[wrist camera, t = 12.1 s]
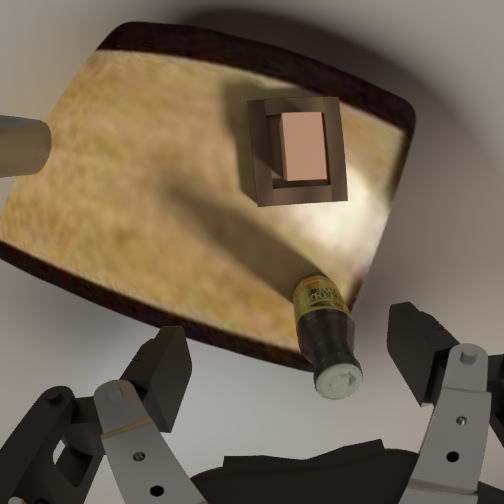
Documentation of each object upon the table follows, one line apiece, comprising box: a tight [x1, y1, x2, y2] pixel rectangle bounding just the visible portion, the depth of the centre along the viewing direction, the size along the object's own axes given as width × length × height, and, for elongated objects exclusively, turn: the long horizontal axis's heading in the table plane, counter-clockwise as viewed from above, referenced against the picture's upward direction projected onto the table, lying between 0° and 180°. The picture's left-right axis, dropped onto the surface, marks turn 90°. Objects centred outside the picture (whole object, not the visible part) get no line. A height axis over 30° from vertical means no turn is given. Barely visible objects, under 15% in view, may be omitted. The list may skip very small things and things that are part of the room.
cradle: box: [248, 97, 348, 207], centre depth 35 cm, size 11×13×2 cm
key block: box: [279, 112, 327, 181], centre depth 32 cm, size 7×4×7 cm, turn 4°
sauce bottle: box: [293, 275, 363, 400], centre depth 31 cm, size 7×6×20 cm
